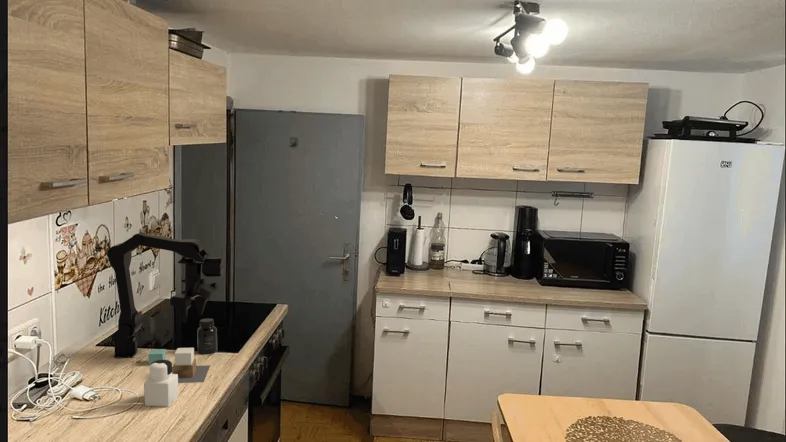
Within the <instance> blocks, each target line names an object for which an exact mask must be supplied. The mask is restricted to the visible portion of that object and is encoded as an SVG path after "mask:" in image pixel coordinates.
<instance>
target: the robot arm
mask: <svg viewBox="0 0 786 442" xmlns="http://www.w3.org/2000/svg"><path fill="white" fill-rule="evenodd" d="M140 246H143V247H147V248H148V247H149V248H153V249H158V250H165V251H168V252H169V251H170V252H174V253H176V254H178V255H180V256H182V257H181V259H180V260H178V262H177V263H178V264H180V265H182V264H183V265H184V274H183V275H184V278H182V279H181V283H183V284H184V288H183V289H182V290H181V294H179V293H178V294H175V295H173V296H170V298H169V305H170V306H172V307H174V309H175V311H176V312H177V313H178V315H179V317H180V319H181V321H182V323H184V324H186V323H187V321H188V316H189V315H188V313H189V308H190V307H192V304H191V303H192V299H194V301H195V306H196V311H197V313H198V316H199V317H200V316H201V317H202V315H203V313H204V310H205V308H206V307H205V306H206V305H207V303H208V301H209V300H211V299H214V298H215V297H216V294H217V293H219V284H218V282H215V281H214V282H211V284H210V283H205V282H206V280H205V278H204V277H202V276H205V277H212V278H213V277H214V278H224V274H225V265H224V263H225V262H224V259H223V257H220V256H219V257H210V255H209V254H208V252H207V251H206V249H205V248H204V243H202V241H201V240H200V239H194V238H193V239H191V238H186V239H185V238H184V239H183V238H182V239H176V238H170V237H164V236H160V235H155V234H154V235H153V234H147V233H145V232H138V233H135V234H133V235H132V236H131V237H129V238H127V239H126V240H125V241H123V242H121V243H118V244H115V245H112V246H111V247H109V248H108V249H107V253H106V255H107V259H108V262H109V265H110V267H111V268H112V269H113V271H114V276H115V281H116V287H117V295H118V296H117V297H118V301H119V309H120V312H119V317H118V321H117V322H118V325H117V330H116V331H115V332H114V333H113V334H111V336H110V337H111V340H112V342H113V343H114V345H113V346H114V355H112V357H123V358H133V357H134V356H135V355H136V354H137V353H138V340H137V339H136V335H137V332H138V331H139V330H141V327H142V326H143V323H144V322H145V321H144V319H143V311H142V310H140V311H139V310H137V309H136V306H135V300H134V293H133V286H132V284H133V283H132V278H131V271H130V266H131V262H132V256H133V255H132V252H134V251H135V250H136V249H138V248H139V247H140Z"/></svg>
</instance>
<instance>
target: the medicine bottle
mask: <svg viewBox="0 0 786 442" xmlns="http://www.w3.org/2000/svg"><path fill="white" fill-rule="evenodd" d="M172 367H173V363H172V362H171V360H168V359H166V360H157V361H154V362H152V363H151V364H150V366H149V377H148V379H146V380H145V381H144V382H143V392H144V394H143V395H144V396H143V397H144V407H161V408H162V407H163V408H164V407H166V408H169V407H170V406H171V405H172V404H173V403H174V401H175V400H176V399H177V398H178V397H179V383H178V374H172Z"/></svg>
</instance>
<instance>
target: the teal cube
mask: <svg viewBox="0 0 786 442" xmlns="http://www.w3.org/2000/svg"><path fill="white" fill-rule="evenodd" d="M166 357H167V356H166V348H161V349H160V348H159V349H157V348H156V349H150V351H149V353H148V367H150V364H151V363H152V362H154V361H157V360H167V359H166Z"/></svg>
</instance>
